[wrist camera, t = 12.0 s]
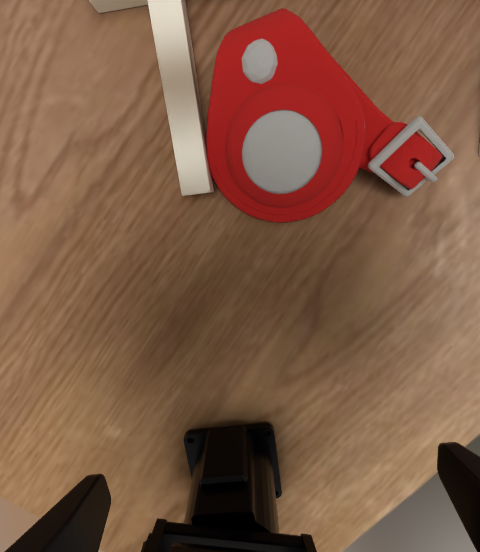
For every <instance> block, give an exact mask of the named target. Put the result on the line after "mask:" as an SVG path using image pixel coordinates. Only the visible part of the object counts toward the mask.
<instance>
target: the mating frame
mask: <svg viewBox="0 0 480 552" xmlns="http://www.w3.org/2000/svg"><path fill="white" fill-rule="evenodd" d="M88 1H89V2H90V3H91V4H92V5H93V7H94V8H95V9H96V10H97V12H98V13H104V12H110V11H115V10H121V9H127V8H133V7H138V6H144V5H148V6H149V12H150V17H151V23H152V29H153V34H154V40H155V46H156V51H157V57H158V63H159V68H160V74H161V80H162V85H163V91H164V97H165V102H166V108H167V114H168V119H169V125H170V131H171V136H172V142H173V148H174V153H175V159H176V165H177V170H178V176H179V182H180V187H181V193H182V196H187V195H195V194H203V193H210V192H214V188H213V181H212V175H211V172H210V169H209V165H208V160H207V147H206V135H205V128H204V121H203V114H202V108H201V101H200V94H199V88H198V81H197V74H196V68H195V61H194V54H193V48H192V41H191V34H190V27H189V21H188V14H187V7H186V1H185V0H88ZM479 155H480V145H479Z"/></svg>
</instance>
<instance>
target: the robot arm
mask: <svg viewBox="0 0 480 552" xmlns="http://www.w3.org/2000/svg"><path fill="white" fill-rule="evenodd" d="M266 430H269V432H265V431H266ZM190 438H193V439H190ZM184 445H185V449H186V454H187V458H188V463H189V467H190V472H191V476H192V483H191V488H190V494H189V499H188V504H187V510H186V515H185V520H184V523H175V522H167V520H166V519H157V521H156V523H155V526H154V529H153V532H152V533H149V536H148V538H147V541H145V542H144V543H143V546H142V550H141V552H317V551H316V548H315V545H314V542H313V539H312V536H311V535H308V534H301V536H298V535H289V534H279V525H278V515H277V505H276V498H279V497H280V496H281V494H282V491H281V483H280V475H279V467H278V459H277V451H276V443H275V435H274V428H273V426H272V425H271V424H269V423H264V424H253V425H243V426H232V427H222V428H212V429H201V430H191V431H188V432H186V434H185V436H184ZM437 470H438V474H439V477H440V479H441V481H442V483H443V485H444V487H445V489H446V491H447V493H448V495H449V497H450V499H451V501H452V503H453V505H454V507H455V509H456V511H457V513H458V515H459V517H460V519H461V521H462V523H463V525H464V527H465V529H466V531H467V533H468V535H469V537H470V539H471V541H472V543H473V545H474V547H475V548H476V550H477V552H480V456H478V455H476V454H475V453H473V452H472V451H470V450H468V449H467V448H465V447H464V446H462V445H460V444H459V443H456V442H448V443H441V444H439V446H438V459H437ZM110 505H111V495H110V492H109V489H108V486H107V483H106V479H105V477H104V475H103V474H93V475H88V476H86V477H85V478H84V479H83V480H82V481H81V482H79V483H78V484H77V485H76V486H75V487H74V488H73V489H72V490H71V491H70V492H69V493H68V494H67V495H65V496H64V497H63V498H62V499H61V500H60V501H59V502H58V503H57V504H56V505H55V506H54V507H52V508H51V509H50V510H49V511H48V512H47V513H46V514H45V515H44V516H43V517H42V518H41V519H39V520H38V521H37V522H36V523H35V524H34V525H33V526H32V527H31V528H30V529H29V530H28V531H27V532H25V533H24V534H23V535H22V536H21V537H20V538H19V539H18V540H17V541H16V542H15V543H14V544H13V545H11V546H10V547H9V548H8V549H7V550H6V551H5V552H98V550H99V546H100V543H101V539H102V535H103V532H104V528H105V524H106V520H107V517H108V513H109V509H110Z"/></svg>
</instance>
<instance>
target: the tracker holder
mask: <svg viewBox="0 0 480 552" xmlns="http://www.w3.org/2000/svg"><path fill="white" fill-rule="evenodd" d="M418 129H420V131H421V132H422V133H423V134H424V135H425V136H426V137H427V138H428V139H429V141H430V142H431V143H432V144H433V145H434V146H435V147H436V148H437V149H438V150H437V149H435V148H434V147H433V146H432V145H431V144H430V143H428V142H427V141H426V140H425V139H424V138H423V137H421V136H420V135H419V134H418V133H417V132H416V131H417V130H418ZM206 147H207V160H208V165H209V169H210V172H211V175H212V177H213V179H214V181H215V183H216V184H217V186H218V188H219V189H220V191H221V192H222V193H223V195H224V196H225V197H226V198H227V199H228V200H229V201H230V202H231V203H232V204H233V205H234V206H235V207H237V208H238V209H240V210H242V211H243V212H245V213H247V214H249V215H251V216H253V217H255V218H258V219H262V220H266V221H271V222H292V221H298V220H302V219H306V218H308V217H311V216H313V215H315V214H318V213H320V212H321V211H323V210H324V209H326V208H327V207H329V206H330V205H331V204H333V203H334V202H335V201H336V200H337V199H338V198H339V197H340V196H341V195H342V194H343V193H344V192H345V191H346V189H347V188H348V187H349V185H350V184H351V182H352V181H353V179H354V177H355V175H356V173H357V171H358V169H359V168H362V169H365V170H367V171H370V172H372V173H375V174H377V175H378V176H379V177H381V178H382V179H383V180H384V181H386V182H387V183H388V184H390V185H391V186H392V187H393V188H395V189H396V190H397V191H399V192H400V193H401V194H402V195H404V196H405V197H407V196H409V195H410V194H412V193H413V192H414V191H415V190H416V189H418V188H419V187H420V186H421V185H422V184H424V183H425V182H426V181H427V180H429V181H430V182H435V181H436V180H437V177H436V176H435V175H434V174H436V173H437V172H438V171H439V170H441V169H442V168H443V167H444V166H445V165H447V164H448V163H449V162H450V161H451V160H453V159H454V154H453V153H452V152H451V151H450V149H449V148H448V147H447V146H446V145H445V144H444V142H443V141H442V140H441V139H440V138H439V137H438V135H437V134H436V133H435V132H434V131H433V130H432V128H431V127H430V126H429V125H428V124H427V122H426V121H425V120H424V119H423V118H422V117H421V116H418V117H415V118H414V119H413V120H412V121H411V122H410V123H409V124H408V125H407V124H405V123H403V122H396V123H394V122H393V121H392V120H390V119H389V118H388V117H387V116H386V115H385V114H383V113H382V112H381V111H380V110H379V109H378V108H377V107H376V106H375V105H374V104H373V102H372V101H371V100H370V99H369V98H368V97H367V96H366V95H365V93H364V92H363V91H362V90H361V89H360V88H359V87H358V86H357V84H356V83H355V82H354V81H353V80H352V79H351V78H350V77H349V75H348V74H347V73H346V72H345V71H344V70H343V69H342V68H341V66H340V65H339V64H338V63H337V62H336V61H335V60H334V59H333V57H332V56H331V55H330V54H329V53H328V52H327V51H326V49H325V48H324V47H323V45H322V44H321V43H320V41H319V40H318V39H317V37H316V36H315V35H314V34H313V32H312V31H311V30H310V28H309V27H308V26H307V25H306V24H305V23H304V22H303V20H302V19H301V18H300V17H298V16H296V15H295V14H293V13H292V12H290V11H288V10H287V9H279V10H277V11H275V12H272V13H270V14H268V15H265V16H263V17H261V18H258V19H256V20H254V21H251V22H249V23H246V24H244V25H242V26H239V27H237V28H235V29H233V30H231V31H230V32H229V33H227V34H226V35H225V37H224V39H223V41H222V43H221V45H220V47H219V50H218V53H217V57H216V62H215V67H214V73H213V81H212V88H211V95H210V101H209V108H208V119H207V135H206ZM439 152H440V153H441V154H440V153H439ZM403 185H404V186H403Z"/></svg>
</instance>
